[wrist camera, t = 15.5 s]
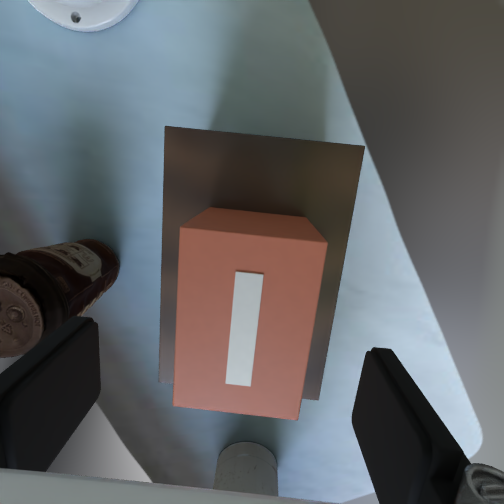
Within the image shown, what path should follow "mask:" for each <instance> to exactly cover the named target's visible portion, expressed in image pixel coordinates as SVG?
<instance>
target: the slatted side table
mask: <svg viewBox="0 0 504 504" xmlns="http://www.w3.org/2000/svg"><path fill="white" fill-rule="evenodd" d="M364 150H365V146H361V145H351V144H341V143H331V142H321V141H311V140H301V139H291V138H281V137H271V136H261V135H251V134H241V133H231V132H221V131H212V130H202V129H192V128H182V127H172V126H165V139H164V181H163V222H162V264H161V305H160V347H159V382H160V383H169V384H173V383H174V359H175V334H176V310H177V286H178V261H179V237H180V226H182V225H183V224H185V223H186V222H188V221H189V220H191V219H192V218H194V217H195V216H197V215H198V214H200V213H201V212H203V211H205V210H206V209H208V208H209V207H213V208H223V209H232V210H242V211H251V212H260V213H270V214H279V215H289V216H298V217H306V218H307V219H308V220H309V221H310V223H311V224H312V225H313V226H314V227H315V228H316V229H317V231H318V232H319V233H320V234H321V235H322V236H323V237H324V239H325V240H326V241H327V242H328V246H327V252H326V257H325V263H324V269H323V275H322V281H321V287H320V293H319V299H318V305H317V311H316V317H315V323H314V328H313V334H312V340H311V346H310V352H309V358H308V364H307V370H306V376H305V382H304V388H303V394H302V399H310V400H319V395H320V389H321V384H322V379H323V373H324V368H325V362H326V357H327V351H328V346H329V340H330V335H331V330H332V324H333V319H334V313H335V308H336V302H337V297H338V291H339V286H340V280H341V275H342V270H343V264H344V259H345V253H346V248H347V242H348V237H349V231H350V226H351V221H352V215H353V210H354V204H355V199H356V193H357V188H358V182H359V177H360V171H361V166H362V161H363V155H364Z"/></svg>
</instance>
